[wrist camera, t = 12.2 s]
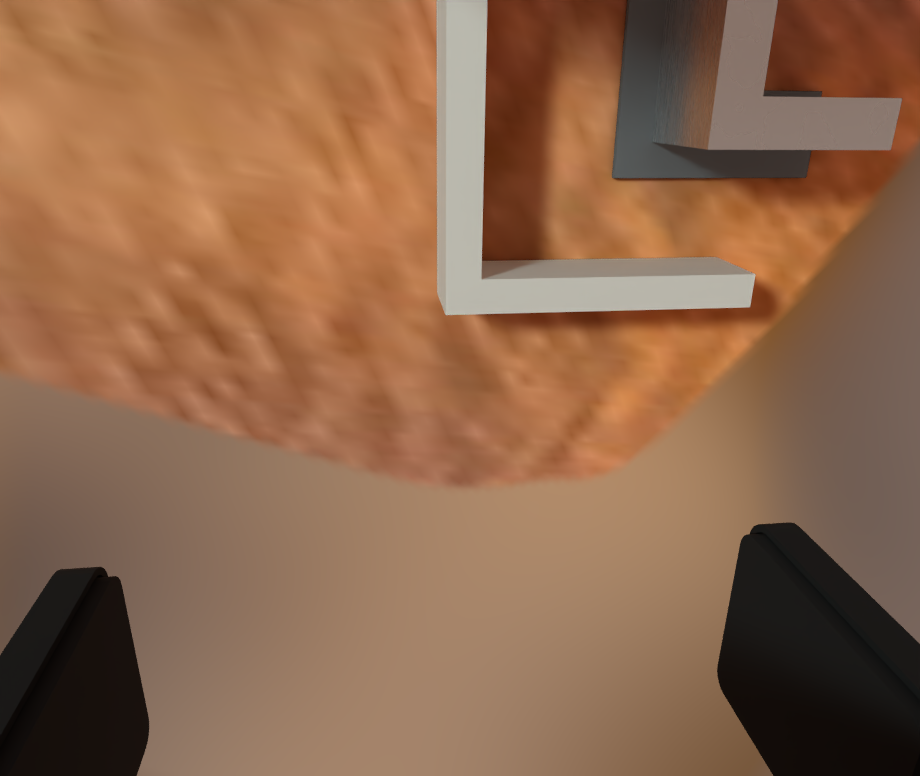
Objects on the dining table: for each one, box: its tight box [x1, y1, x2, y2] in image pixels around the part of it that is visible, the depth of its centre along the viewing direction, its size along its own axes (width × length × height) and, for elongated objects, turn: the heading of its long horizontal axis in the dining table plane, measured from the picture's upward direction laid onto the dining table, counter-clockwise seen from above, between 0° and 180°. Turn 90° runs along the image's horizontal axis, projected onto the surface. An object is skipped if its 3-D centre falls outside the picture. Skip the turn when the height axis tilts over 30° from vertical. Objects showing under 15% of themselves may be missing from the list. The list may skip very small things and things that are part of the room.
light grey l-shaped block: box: [437, 0, 756, 315], centre depth 31 cm, size 20×15×4 cm
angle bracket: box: [652, 0, 902, 150], centre depth 30 cm, size 10×8×6 cm
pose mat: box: [612, 0, 822, 178], centre depth 33 cm, size 12×10×1 cm
